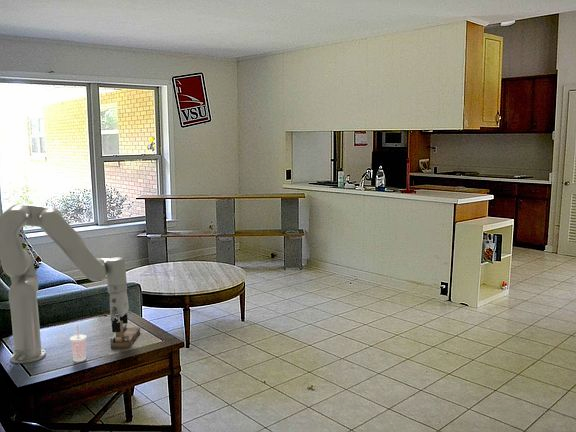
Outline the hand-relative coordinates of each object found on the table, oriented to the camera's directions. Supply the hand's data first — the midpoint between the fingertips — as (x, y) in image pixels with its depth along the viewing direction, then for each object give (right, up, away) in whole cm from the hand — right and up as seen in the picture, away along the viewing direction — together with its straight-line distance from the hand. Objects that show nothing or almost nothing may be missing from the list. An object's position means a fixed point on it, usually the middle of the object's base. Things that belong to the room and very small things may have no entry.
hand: (120, 327), depth 220 cm
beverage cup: (-12, -10, -13) cm, 20 cm away
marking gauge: (+1, -5, +1) cm, 5 cm away
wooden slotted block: (0, -7, +7) cm, 10 cm away
